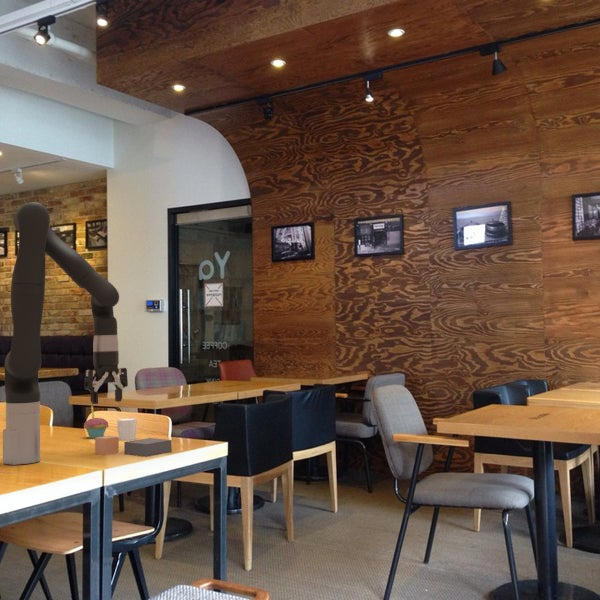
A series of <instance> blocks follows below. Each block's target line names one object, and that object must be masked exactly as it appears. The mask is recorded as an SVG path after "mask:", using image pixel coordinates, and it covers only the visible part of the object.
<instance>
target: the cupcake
mask: <svg viewBox="0 0 600 600" xmlns="http://www.w3.org/2000/svg"><path fill="white" fill-rule="evenodd" d="M90 409H91V416H92V418H89V419H87V420H86V421H85V422H84V423H83V428H84V430H85V429H86V432H87V435H88V438H89V439H92V440H93V439H94V440H95V438H96V437H103V436H105V433H106V429H107V428H109V422H108V420H106V419H104V418H101V417H95V412H94V406H93V404H91V407H90Z"/></svg>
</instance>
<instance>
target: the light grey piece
mask: <svg viewBox="0 0 600 600" xmlns="http://www.w3.org/2000/svg"><path fill="white" fill-rule="evenodd" d="M116 424H117V431H118V437H119V441H134V440H136V439H135V438H136V436H137V424H138V419H137V418H134V417H133V418H132V417H131V418H129V417H126V418H120V419H117V420H116Z"/></svg>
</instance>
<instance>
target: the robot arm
mask: <svg viewBox="0 0 600 600" xmlns="http://www.w3.org/2000/svg"><path fill="white" fill-rule="evenodd" d="M13 214H14V215H13V217H12V218H13V220H12V221H13V226H14V228H15V230H17V232H18V251H17V255H16V259H15V262H14V266H13V271H12V274H11V275H12V276H11V283H10V309H11V310H10V312H11V318H12V328H13V329H12V330H13V332H12V340H11V347H10V351H8V353H7V355H6V357H5V360H4V393H5V429H3V430H2V464H5V465H10V466H16V465H28V464H33V463H34V464H35V463H37V462H40V461H41V392H40V387H39V371H40V369H41V366H42V349H41V348H42V347H41V346H42V345H41V325H42V319H43V314H44V312H43V311H44V305H45V303H44V302H45V292H46V291H45V290H46V255H48V256H49V258H51V260H52V261H54V262H55V264H56V265H57V266H58V267H59V268H60V269H61V270H62V271H63V272H64V273H65V274H66V275H67V276H68V277H69V278H70V279H71V280H72V281H73V282H74V284H75V285H77V286H78V287H79V288H80V289H83V290H86V291H87V292H88V294H89V295H90V307H91V314H92V317H93V341H92V342H93V343H92V345H93V346H92V348H93V351H92V352H93V354H92V355H93V366H94V369H93V370H92V369H86V370H85V371H84V386H83V387H84V390H87V391H89V392H90V402H91V405H98V403H99V392H98V390H99V389H100V387H101V386H102V385H103V384H108V383H110V384H112V385H113V387H114V401H115V402H121V401H122V400H123V389H124V388H127V387H128V386H129V383H128V382H129V381H128V369H127V367H119V366H118V365H119V363H120V362H119V361H120V360H119V358H120V357H119V355H120V354H119V352H120V351H119V339H118V321H117V319H116V317H115V316H114V307H115V306H117V304H119V301H120V293H119V291H118V290H117V287H115V286H114V285H113V284H112V283H111V282H110V281H109V280H108V279H106V278H105V277H104V276H103V275H101V274H100V273H98V271H96V270H95V268H94V267H93V266H92V265H91V264H90V263H89V262H88V261H87V259H86V258H84V257H83V256H82V255H81V254H80V253H79V252H77V251H76V250H75V249H74V248H73V247H71V246H69V245H68V244H67V243H66V242H65V241H63V240H62V239H61V238H60V237H59V236H58V235H57V234H56V233H55V232H54V230H53V229H52V228H51V227H50V221H51V217H50V213H49V211H48V209H47V208H46V206H44V205H43V204H42V203H40V202H36V201H30V202H26V203H25V204H23V205H22V206H20V207H19V208H18V209H17V210H16V211H15V213H13Z"/></svg>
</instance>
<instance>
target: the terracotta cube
mask: <svg viewBox="0 0 600 600" xmlns="http://www.w3.org/2000/svg"><path fill="white" fill-rule="evenodd" d="M119 442H120V440H119V436H118V435H117V436H116V435H115V436H114V435H104V436H103V437H96V438H95V439H94V452H95V453H94V454H95V455H100V454H102V455H103V456H108V455H107V454H109V455H113V454H112V453H115V454H119V453H120V452H119V451H120V449H119V448H120V447H119V446H120V444H119ZM118 452H119V453H118ZM102 455H101V456H102Z"/></svg>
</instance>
